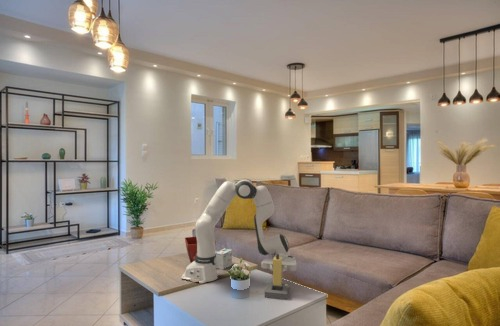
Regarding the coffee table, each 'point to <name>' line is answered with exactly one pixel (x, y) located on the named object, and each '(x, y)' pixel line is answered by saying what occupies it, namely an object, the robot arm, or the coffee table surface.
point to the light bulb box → (224, 258)
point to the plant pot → (191, 247)
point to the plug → (277, 270)
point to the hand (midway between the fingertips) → (277, 270)
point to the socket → (277, 291)
